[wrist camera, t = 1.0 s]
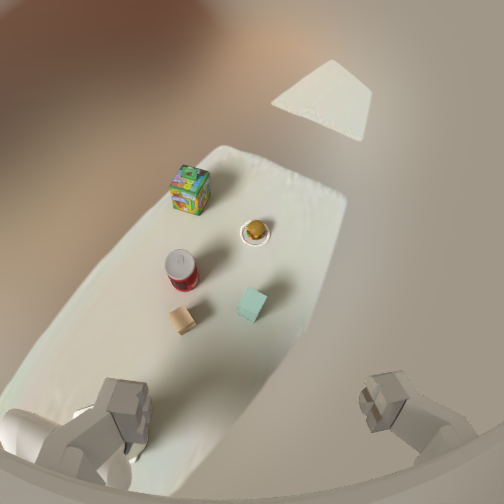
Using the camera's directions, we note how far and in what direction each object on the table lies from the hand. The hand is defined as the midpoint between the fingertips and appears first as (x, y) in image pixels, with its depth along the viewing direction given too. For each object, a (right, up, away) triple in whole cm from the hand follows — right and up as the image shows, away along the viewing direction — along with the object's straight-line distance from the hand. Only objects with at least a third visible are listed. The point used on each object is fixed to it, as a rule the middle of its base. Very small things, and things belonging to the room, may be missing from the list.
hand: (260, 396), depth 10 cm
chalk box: (-19, +21, +82) cm, 87 cm away
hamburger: (+1, +10, +80) cm, 80 cm away
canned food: (-19, -2, +71) cm, 74 cm away
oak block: (-18, -14, +66) cm, 70 cm away
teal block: (-1, -10, +69) cm, 70 cm away
